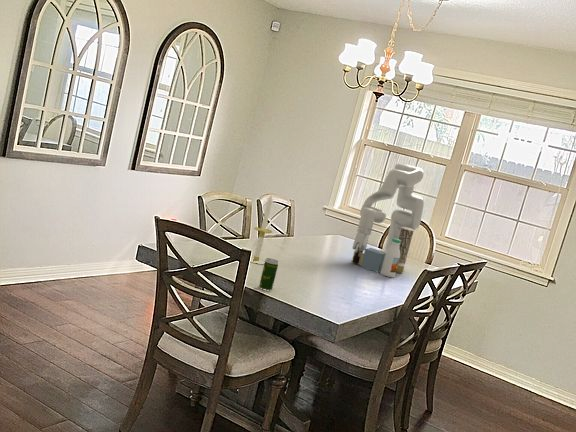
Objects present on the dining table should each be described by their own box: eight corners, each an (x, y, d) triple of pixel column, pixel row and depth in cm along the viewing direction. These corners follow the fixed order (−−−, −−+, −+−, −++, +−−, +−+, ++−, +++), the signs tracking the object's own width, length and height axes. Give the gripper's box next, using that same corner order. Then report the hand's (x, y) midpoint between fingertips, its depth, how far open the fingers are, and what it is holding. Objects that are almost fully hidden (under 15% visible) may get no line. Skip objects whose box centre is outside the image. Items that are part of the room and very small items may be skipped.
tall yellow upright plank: (352, 261, 371) (354, 250, 370) (372, 268, 366) (375, 256, 366) (351, 262, 370) (354, 250, 369) (371, 268, 365) (374, 257, 365)
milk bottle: (383, 276, 352) (393, 239, 350) (378, 272, 360) (387, 236, 357) (396, 278, 354) (406, 242, 352) (391, 274, 362) (400, 238, 359)
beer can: (271, 288, 270) (278, 259, 268) (272, 292, 264) (279, 262, 263) (258, 285, 269) (265, 257, 267) (259, 289, 264) (265, 260, 262)
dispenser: (366, 265, 372) (370, 247, 371) (383, 270, 368) (387, 253, 367) (360, 266, 364) (365, 248, 362) (377, 272, 360) (382, 254, 358)
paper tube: (402, 274, 371) (413, 230, 368) (390, 271, 372) (401, 227, 369) (402, 272, 377) (414, 229, 374) (390, 269, 379) (402, 226, 375)
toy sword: (242, 260, 310) (258, 191, 305) (248, 257, 319) (264, 190, 315) (262, 266, 307) (279, 196, 303) (268, 262, 317) (284, 195, 313)
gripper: (362, 227, 376) (354, 259, 378) (353, 229, 362) (344, 261, 364) (375, 231, 373) (367, 263, 375) (366, 232, 359) (357, 266, 361)
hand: (356, 262), depth 370 cm, fingers closed
